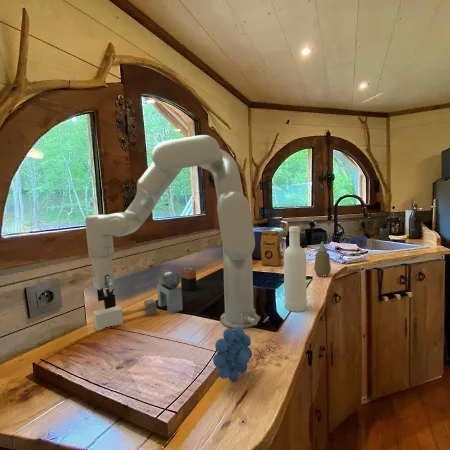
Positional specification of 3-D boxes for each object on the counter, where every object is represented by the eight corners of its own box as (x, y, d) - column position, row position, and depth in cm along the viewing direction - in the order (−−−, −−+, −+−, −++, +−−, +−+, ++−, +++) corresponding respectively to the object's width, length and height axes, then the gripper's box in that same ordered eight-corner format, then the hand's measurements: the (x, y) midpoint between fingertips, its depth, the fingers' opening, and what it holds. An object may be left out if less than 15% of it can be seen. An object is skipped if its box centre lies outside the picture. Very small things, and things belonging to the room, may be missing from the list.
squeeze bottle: (313, 277, 136) (313, 242, 135) (314, 273, 144) (314, 240, 143) (330, 278, 133) (330, 243, 132) (330, 274, 141) (330, 240, 139)
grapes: (230, 403, 51) (228, 343, 50) (207, 387, 56) (205, 332, 55) (265, 374, 60) (264, 322, 59) (242, 362, 64) (241, 315, 63)
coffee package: (277, 267, 160) (276, 231, 158) (259, 265, 167) (258, 231, 165) (283, 264, 168) (283, 230, 166) (265, 262, 175) (265, 229, 173)
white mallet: (156, 313, 96) (156, 300, 96) (97, 330, 84) (95, 315, 84) (152, 310, 99) (152, 297, 99) (94, 326, 87) (93, 311, 87)
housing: (183, 310, 99) (181, 272, 98) (169, 314, 95) (167, 275, 94) (170, 302, 108) (168, 267, 107) (157, 305, 104) (155, 269, 103)
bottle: (287, 302, 103) (285, 225, 100) (308, 305, 99) (307, 225, 97) (282, 310, 95) (280, 227, 93) (304, 313, 92) (303, 227, 90)
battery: (189, 291, 120) (188, 269, 120) (180, 288, 125) (179, 267, 125) (197, 289, 123) (196, 268, 123) (188, 286, 128) (187, 266, 128)
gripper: (84, 251, 91) (89, 300, 92) (94, 257, 77) (100, 314, 78) (107, 248, 95) (112, 294, 96) (120, 253, 81) (126, 307, 83)
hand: (106, 303), depth 87 cm, fingers open, 9 cm apart
